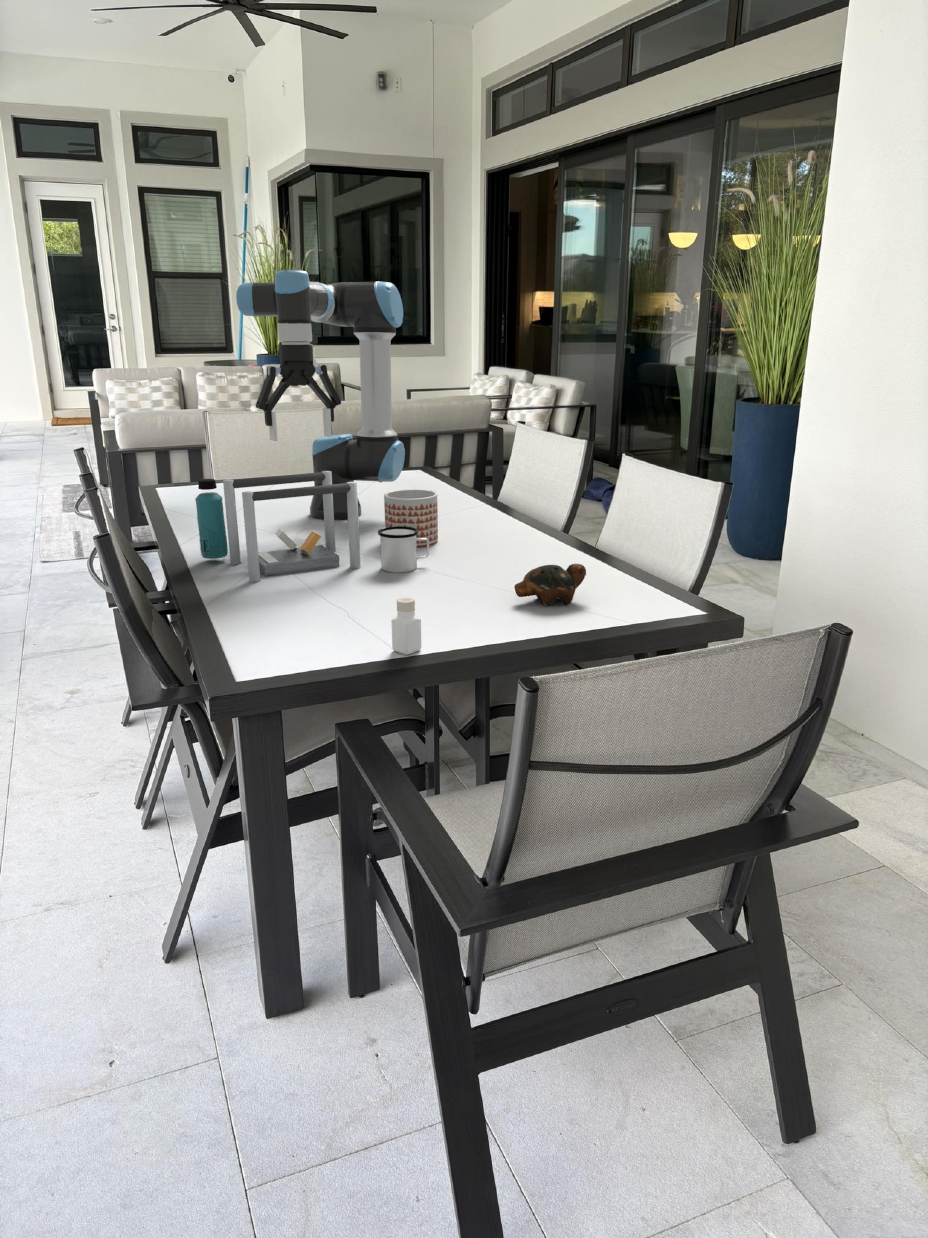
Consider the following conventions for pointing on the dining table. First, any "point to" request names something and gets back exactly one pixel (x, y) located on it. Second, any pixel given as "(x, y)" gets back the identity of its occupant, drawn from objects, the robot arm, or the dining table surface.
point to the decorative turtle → (552, 583)
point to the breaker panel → (296, 560)
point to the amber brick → (310, 543)
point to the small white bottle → (406, 627)
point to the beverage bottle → (211, 521)
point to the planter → (413, 512)
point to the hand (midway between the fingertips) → (301, 438)
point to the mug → (399, 548)
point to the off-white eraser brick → (286, 539)
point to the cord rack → (325, 489)
